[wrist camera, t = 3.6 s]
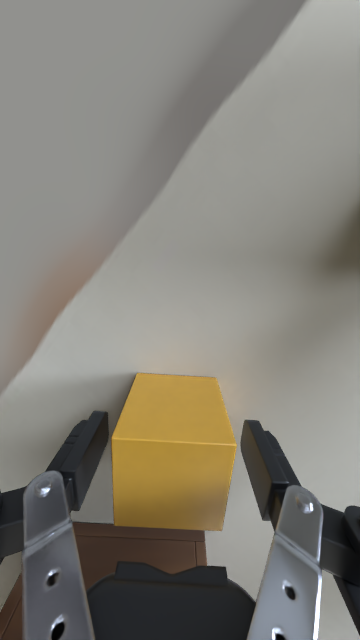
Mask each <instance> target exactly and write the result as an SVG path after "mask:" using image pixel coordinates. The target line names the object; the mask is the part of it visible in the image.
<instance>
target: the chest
mask: <svg viewBox="0 0 360 640" xmlns="http://www.w3.org/2000/svg"><path fill="white" fill-rule="evenodd" d="M72 524H73V529H74V534H75V539H76V544H77V549H78V554H79V559H80V564H81V570H82V575H83V580H84V585H85V590H86V591H87V590H88V589H89V588H90V587H91V586H92V585H93V584H94V583H96V582H97V581H98V580H100V579H101V578H103V577H105V576H107V575H109V574H111V573H114V572H115V571H116V566H117V562H118V561H131V562H145V563H147V564H149V565H151V566H154V567H156V568H158V569H160V570H162V571H165V572H167V573H169V574H175V573H178V572H181V571H184V570H187V569H190V568H193V567H196V566H199V565H201V566H207V557H206V546H205V534H204V530H189V529H169V528H149V527H130V526H115V525H114V524H97V523H77V522H72ZM0 640H22V571H21V573H20V575H19V577H18V579H17V581H16V583H15V585H14V587H13V589H12V591H11V593H10V595H9V597H8V598H7V600H6V602H5V604H4V606H3V608H2V610H1V612H0Z"/></svg>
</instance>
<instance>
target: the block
mask: <svg viewBox="0 0 360 640" xmlns="http://www.w3.org/2000/svg"><path fill="white" fill-rule="evenodd" d="M236 447H237V444H236V441H235V438H234V434H233V431H232V428H231V425H230V421H229V418H228V415H227V411H226V408H225V405H224V402H223V398H222V395H221V392H220V388H219V385H218V382H217V379H216V378H213V377H196V376H179V375H162V374H146V373H137V375H136V377H135V380H134V382H133V385H132V387H131V390H130V392H129V395H128V397H127V400H126V402H125V405H124V407H123V410H122V412H121V415H120V417H119V420H118V422H117V425H116V427H115V430H114V432H113V435H112V437H111V451H112V481H113V511H114V525H115V526H130V527H149V528H169V529H189V530H209V531H222V528H223V522H224V516H225V511H226V505H227V499H228V493H229V487H230V482H231V476H232V470H233V464H234V458H235V453H236Z"/></svg>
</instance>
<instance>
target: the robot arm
mask: <svg viewBox="0 0 360 640" xmlns="http://www.w3.org/2000/svg"><path fill="white" fill-rule="evenodd" d="M108 436H109V425H108V412H103V411H94V412H93V413H92V414H91V416H90V418H89V419H88V420H82V421H81V422H80V423H79V424H77V425H76V426H75V427H74V428H73V430H72V431H71V433H70V434H69V437H67V439H66V440H65V442H64V444H63V445H62V447H61V448H60V450H59V451H58V453H57V454H56V456H55V457H54V459H53V460H52V462H51V463H50V465H49V466H48V468H47V469H46V471H45V472H44V473H42V474H40V475H38V476H37V477H35V478H34V479H33V480H32V481H31V482H30V483H29V484H28V486H25V487H23V488H20V489H16V490H12V491H8V492H4V493H1V491H0V564H1V563H2V561H3V559H4V557H5V556H8V555H11V554H14V553H17V552H20V551H22V640H317V638H318V624H319V610H320V596H321V582H322V569H323V570H325V571H327V572H329V573H331V574H333V576H334V579H335V581H336V583H337V585H338V588H339V590H340V592H341V594H342V597H343V599H344V601H345V604H346V606H347V608H348V610H349V613H350V615H351V617H352V619H353V622H354V624H355V626H356V628H357V631H358V633H359V635H360V507H357V506H348V507H347V508H346V509H345V512H344V513H343V512H340V511H338V510H335V509H332V508H330V507H327V506H325V505H322V504H320V502H319V501H318V499H317V498H316V497H315V496H314V495H313V494H312V493H311V492H310V491H308V490H307V489H305V488H303V487H302V486H301V485H300V483H299V481H298V479H297V477H296V475H295V473H294V471H293V470H292V468H291V466H290V464H289V462H288V460H287V458H286V457H285V454H284V453H283V451H282V449H281V447H280V445H279V443H278V441H277V439H276V438H275V437H274V436H273V435H272V434H271V433H270V432H269V431H264V430H263V428H262V426H261V424H260V422H259V421H256V420H245V421H244V425H243V430H242V436H241V452H242V456H243V459H244V462H245V465H246V468H247V472H248V475H249V478H250V481H251V485H252V488H253V491H254V494H255V497H256V501H257V504H258V507H259V510H260V513H261V517H262V520H263V521H271V523H272V526H273V529H274V531H275V532H274V536H273V540H272V544H271V547H270V551H269V555H268V559H267V562H266V566H265V570H264V574H263V577H262V581H261V585H260V589H259V592H258V596H257V600H256V602H255V601H254V600H253V598H252V597H251V596H250V595H249V594H248V593H247V592H246V591H245V590H244V589H243V588H242V587H240V586H239V585H238V584H236V583H235V582H233V581H232V580H230V579H227V572H226V567H219V566H201V565H199V566H196V567H193V568H190V569H187V570H184V571H181V572H178V573H175V574H169V573H167V572H165V571H162V570H160V569H158V568H156V567H154V566H151V565H149V564H147V563H145V562H131V561H118V562H117V566H116V571H115V572H114V573H111V574H109V575H107V576H105V577H103V578H101V579H100V580H98V581H97V582H96V583H94V584H93V585H92V586H91V587H90V588H89V589H88V590H87V591H86V590H85V585H84V580H83V575H82V570H81V564H80V559H79V554H78V549H77V544H76V539H75V534H74V529H73V524H72V520H71V518H70V512H71V510H72V511H79V510H80V508H81V505H82V503H83V500H84V498H85V495H86V493H87V491H88V488H89V486H90V483H91V481H92V479H93V476H94V474H95V471H96V469H97V467H98V464H99V462H100V459H101V457H102V455H103V452H104V450H105V447H106V445H107V441H108Z"/></svg>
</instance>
